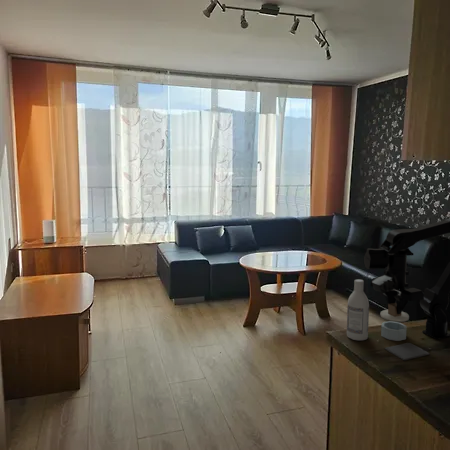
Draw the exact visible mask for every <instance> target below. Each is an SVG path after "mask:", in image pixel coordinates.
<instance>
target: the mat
mask: <svg viewBox="0 0 450 450" xmlns="http://www.w3.org/2000/svg"><path fill="white" fill-rule="evenodd" d="M384 350H385V351H387V352H388V353H390V354H392V355H394V356H395V357H397V358H399V359H401V360H403V361H408V360H412V359H417V358H419V357H420V358H421V357H425V356H428V355H429V356H430V352H428V351H426V350H424V349H423V348H421V347H419V346H417V345H414V344H413V343H411V342H406V343H405V342H404V343H401V344H396V345H392V346H388V347H386V346H385V347H384Z"/></svg>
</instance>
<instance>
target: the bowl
mask: <svg viewBox="0 0 450 450" xmlns="http://www.w3.org/2000/svg"><path fill="white" fill-rule="evenodd" d="M380 328H381V329H380V330H381V331H380V332H381V334H380V335H381V337H383V338H385V339H386V340H389V341H396V342H400V341H404V340H406V339H407V328H408V327H407V325H405V324H403V322H394V321H389V320H387V321H383V322H382V323H381V327H380Z"/></svg>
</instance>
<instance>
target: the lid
mask: <svg viewBox="0 0 450 450" xmlns="http://www.w3.org/2000/svg"><path fill="white" fill-rule="evenodd" d="M387 307H388V308H387V309H384V310H382V311H380V317H381V318H382V319H383V320H385V321H392V322H399V323H403V322H408V321H409V319H410V315H409V314H408V313H407V312H406V311H405V312H404V311H402V312H401V314H397V302H395V303H391V304H387Z"/></svg>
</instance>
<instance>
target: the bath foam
mask: <svg viewBox="0 0 450 450" xmlns="http://www.w3.org/2000/svg"><path fill="white" fill-rule="evenodd" d="M353 283H354V284H353V285H354V287H353V291H352V293H351V294H350V295H349V297H348V299H347V306H346V307H347V309H346V311H347V312H346V316H347V317H346V336H347V337H348V338H349V339H351V340H354V341H358V342H359V341H365V340H367V339H368V338H369V319H370V303H369V302H370V301H369V299H368V296H367V295H366V293H365V291H364V284H365V282H364V280H363V279H359V278H358V279H354V282H353Z"/></svg>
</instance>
